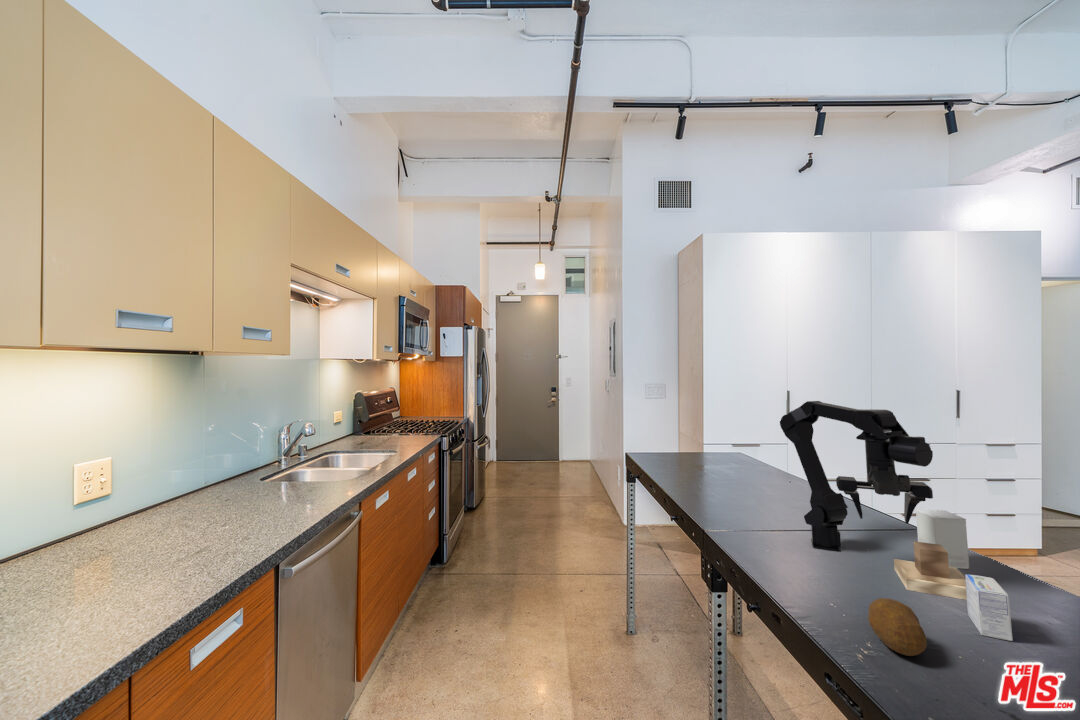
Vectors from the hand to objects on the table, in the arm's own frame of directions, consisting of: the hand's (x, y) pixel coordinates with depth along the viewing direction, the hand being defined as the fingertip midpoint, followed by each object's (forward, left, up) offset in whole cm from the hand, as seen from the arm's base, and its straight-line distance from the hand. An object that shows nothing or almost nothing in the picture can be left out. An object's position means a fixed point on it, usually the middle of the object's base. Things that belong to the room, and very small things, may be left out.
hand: (883, 520), depth 110 cm
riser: (+8, -4, -12) cm, 15 cm away
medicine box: (+12, -22, -13) cm, 28 cm away
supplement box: (+14, +12, -13) cm, 22 cm away
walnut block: (+8, -4, -10) cm, 13 cm away
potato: (-5, -36, -13) cm, 39 cm away
